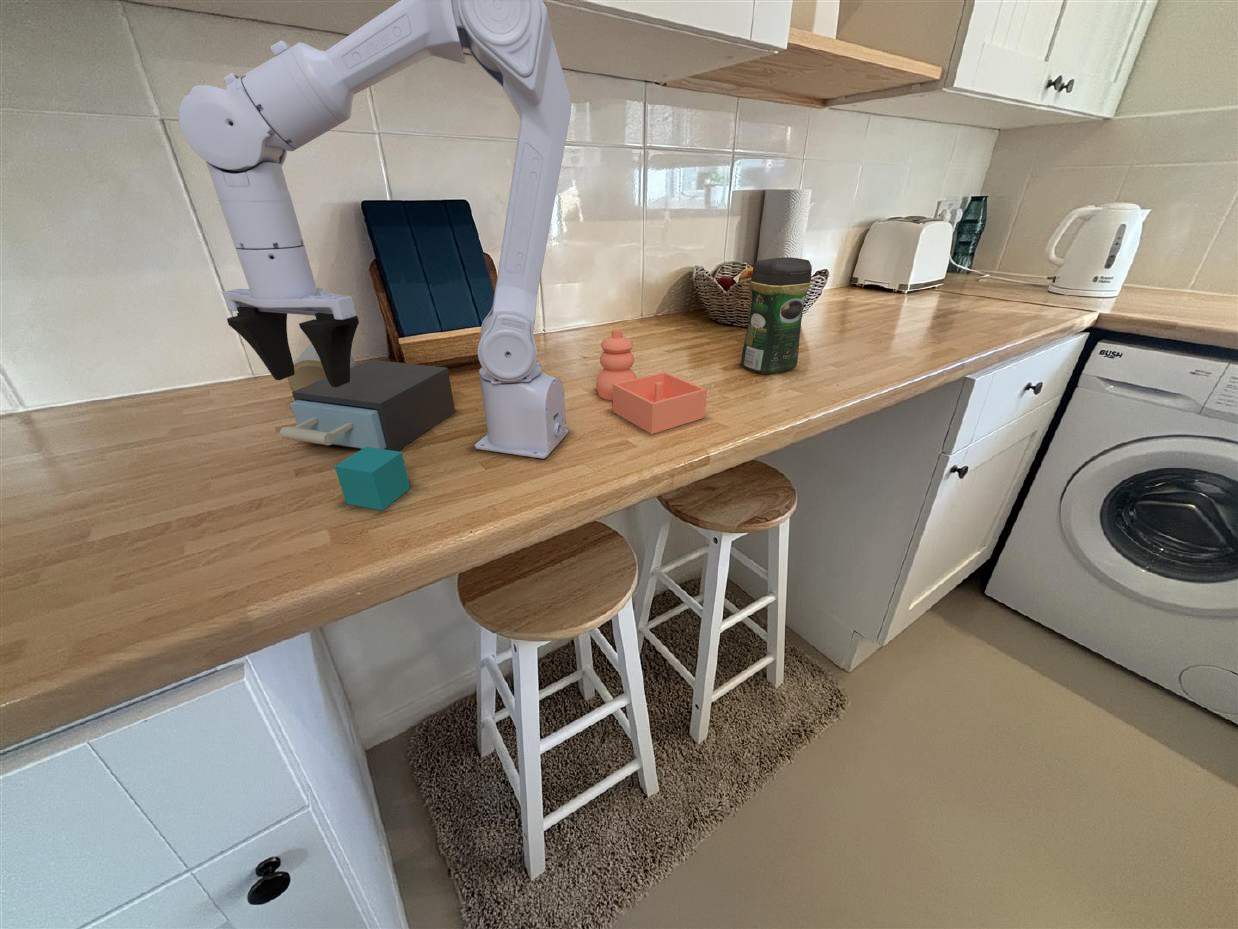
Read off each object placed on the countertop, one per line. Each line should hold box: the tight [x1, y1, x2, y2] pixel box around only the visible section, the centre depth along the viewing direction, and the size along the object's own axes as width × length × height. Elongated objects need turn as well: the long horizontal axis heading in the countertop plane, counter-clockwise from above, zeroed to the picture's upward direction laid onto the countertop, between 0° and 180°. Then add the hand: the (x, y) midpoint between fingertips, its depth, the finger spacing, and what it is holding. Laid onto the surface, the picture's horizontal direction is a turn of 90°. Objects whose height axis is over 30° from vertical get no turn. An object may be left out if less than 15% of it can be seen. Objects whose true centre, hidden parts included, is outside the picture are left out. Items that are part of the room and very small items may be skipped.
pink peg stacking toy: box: [595, 329, 708, 435], centre depth 71 cm, size 18×10×10 cm, turn 35°
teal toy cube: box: [334, 447, 411, 511], centre depth 50 cm, size 4×4×4 cm
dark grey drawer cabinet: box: [291, 359, 456, 452], centre depth 65 cm, size 14×13×7 cm
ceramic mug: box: [287, 344, 357, 392], centre depth 74 cm, size 11×8×8 cm
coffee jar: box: [740, 256, 813, 375], centre depth 85 cm, size 10×8×19 cm
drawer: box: [279, 400, 386, 450], centre depth 61 cm, size 17×11×5 cm
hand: (312, 380), depth 54 cm, fingers open, 7 cm apart
